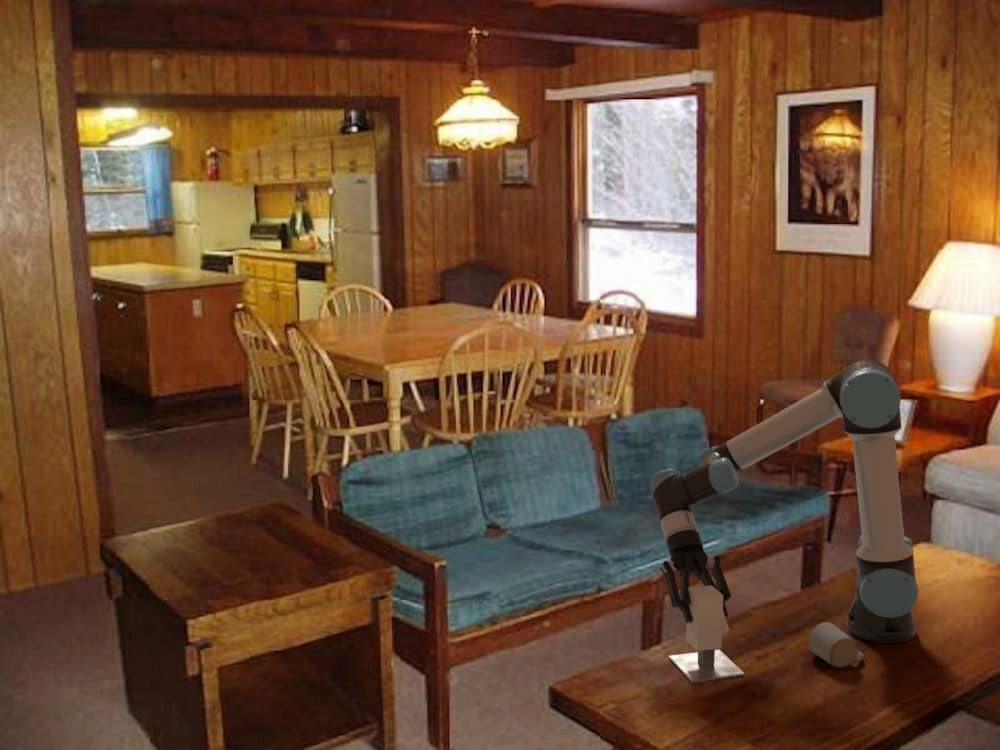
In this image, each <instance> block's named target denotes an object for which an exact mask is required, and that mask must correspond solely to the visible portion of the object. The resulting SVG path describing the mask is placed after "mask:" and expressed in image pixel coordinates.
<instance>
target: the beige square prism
mask: <svg viewBox="0 0 1000 750" xmlns="http://www.w3.org/2000/svg"><path fill="white" fill-rule="evenodd" d="M688 590H689V606H690V605H693V606H694V609H695V613H696V616H697V619H698V622H699V626H700V629H701V633H702V634H701V635H700V637H699V638H698V639H694V636H693V632H692V629H691V625H690V623H686V629H685V630H686V635H685V636H686V637H685V640H686V641H687V643H688V644H689V645H690V646H691V647H692V648H694V650H695V651H696V652H698V651H702V650H710V649H715V650H720V649H722V644H723V643H722V642H723V641H722V640H723V639H722V638H723V637H722V617H723V594H721V593H720V592H719V591H718V590H717V589H715V588H714V587H713V586H712V585H711V586H704V585H703V586H695V587H694V586H693V587H689V588H688Z"/></svg>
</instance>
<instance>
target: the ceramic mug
mask: <svg viewBox="0 0 1000 750" xmlns="http://www.w3.org/2000/svg"><path fill="white" fill-rule="evenodd" d="M808 646H809V648H810V651H812V653H813V654H815V655H816V656H817V657H819V658H820V659H822V660H823V661H825V662H826V663H827V664H829V665H831V666H833V667H835V668H838V669H842V668H843V669H844V668H847V667H848V666H850V665H851V664H852V663H853V662H854V661H857V662H861V661H862V660H863V657H864V654H863V653H862V652H861V650H859V649H858V647H857V644H856V642H855V641H854V639H852V638H851V637H850V636H849V635H848V634H846V633H845V632H844V631H843V630H842V629H840V628H839V627H837V625H835V624H834V623H831V622H829V621H827V622H821V623H820V624H819V623H818V625H817V626H815V627H814V628H813V629H812V631H811V632H810V634H809V637H808Z"/></svg>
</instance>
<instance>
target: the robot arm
mask: <svg viewBox="0 0 1000 750" xmlns="http://www.w3.org/2000/svg"><path fill="white" fill-rule="evenodd" d="M896 381H897V380H896V378H895V375H894V374H893V372H892V370H891V368H889V367H888V366H887V365H885V364H884V363H882V362H880V361H877V360H875V359H874V360H873V359H864V360H859V361H856V362H854V363H852V364H850V365H848V366H847V367H845V368H844V369H842V370H841V371H839V372H838V373H836V374H835V375H833V376H832V377H830V378H829V379H827V380H825V381H823V382H822V386H821V388H820V389H818V390H816V391H815V392H813V393H811V394H809V395H807V396H806V397H803V398H802V399H800V400H798V401H797V402H795V403H793V404H791V405H790V406H788V407H786V408H784V409H783V410H780V411H779V412H777V413H775V414H774V415H772V416H770V417H768V418H766V419H764V420H763V421H762V422H760V423H757V424H756V425H754V426H752V427H751V428H749V429H746V430H745V431H743V432H741V433H739V434H738V435H736V436H734V437H733V438H730V439H729V440H727V441H726V442H724V443H722V444H720V445H716V446H712V447H710V448H708V449H707V450H706V451H705V452H704V453H703V454H702V455H701V457H700V460H699V461H700V462H699V464H698V466H697V467H696V468H694V469H692V470H690V471H687V472H685V473H681V472H680V471H679V470H677V469H675V468H668V469H666V470H664V469H663V470H660V471H658V472H655V473H654V474H653V475H652V477H651V478H650V481H649V485H650V490H651V495H652V496H651V497H652V499H653V502H654V505H655V508H656V511H657V512H656V513H657V514H658V518H659V521H660V525H661V529H662V532H663V535H664V538H665V539H666V541H665V543H666V546H667V549H668V553H669V556H670V560H668V561H667V560H664V561H663V563H661V566H660V570H661V571H662V572H661V573H662V574H663V576H664V579H665V582H666V587H667V592H668V595H669V599H670V604H671V607H673V609H675V608H678V609H679V611H681V612H682V615H683V618H684V621H685V623H686V624H687V623H690V625H691V629H692V632H693V636H694V639H698V638H699V637H700V635H701V634H702V633H701V629H700V626H699V622H698V619H697V616H696V613H695V609H694V606H693V605H690V606H689V590H688V588H690V576H695V577H697V579H698V580H700V582H701V583H702V584H703V586H711V585H712V586H713V587H714V588H715V589H717V590H718V591H719V592H720V593H721V594H723V617H722V636H726V635H727V634H728V632H730V628H729V626H728V622H727V617H728V616H729V613H728V610H727V606H726V604H725V603H727V602H728V601H729V600H730V598H731V597H732V595H731V592H730V589H729V586H728V583H727V581H726V577H725V575H724V572H723V569H722V567H721V557H720V556H719V555H715V556H710V555H709V556H708V554H707V553H706V552H705V550H704V545H703V542H702V539H701V535H700V533H699V532H698V530H699V529H698V526H697V523H696V520H695V516H694V513H693V510H692V507H693V506H697V505H698V504H702V503H704V502H706V501H709V500H711V499H713V498H716V497H717V498H718V497H719V496H721V495H726V494H728V493H729V492H731V491H732V490H736V488H738V487H739V484H740V480H739V475H738V473H740V472H741V471H743V470H745V469H746V468H748V467H751V466H752V465H754V464H756V463H758V462H759V461H761V460H763V459H765V458H767V457H769V456H770V455H772V454H774V453H776V452H777V451H780V450H781V449H784V448H786V447H787V446H789V445H791V444H793V443H794V442H797V441H798V440H800V439H801V438H804V437H805V436H808V435H809V434H812V433H814V431H817V430H818V429H821V428H822V427H824V426H826V425H828V424H829V423H831V422H833V421H835V420H836V419H838V418H842V423H843V424H842V425H843V432H844V433H845V434H846V435H847V436H848V437H850V439H852V440H851V442H852V450H853V458H854V459H853V460H854V470H855V479H856V489H857V498H858V499H857V500H858V508H859V509H858V510H859V511H858V512H859V521H860V531H861V535H860V536H859V538H858V539H859V540H858V544H857V547H858V549H856V553H855V554H856V563H857V572H856V583H855V584H856V586H855V588H856V589H855V597H854V599H853V601H852V603H851V605H850V608H849V611H848V613H847V614H846V629H847V630H848V632H849V633H850V634H852V635H854V636H856V637H858V638H859V639H860V638H861V639H862V640H866V641H870V642H874V643H881V644H901V643H906V642H907V643H908V642H910V641H912V640H913V639H915V638H916V637H915V636H916V630H917V629H916V628H917V627H916V621H915V618H914V614H913V610H912V609H913V608H914V607H915V606H916V603H917V601H918V597H919V586H918V584H917V579H916V568H915V560H914V559H915V557H914V548H913V547H914V546H913V541H912V539H911V538H910V537H907V536H905V533H904V522H903V512H902V511H903V509H902V499H901V498H902V497H901V490H900V489H901V488H900V480H899V477H900V476H899V467H898V458H897V457H898V456H897V447H896V435H897V433H899V431H900V430H902V418H901V417H902V416H901V409H900V407H901V400H902V399H901V391H900V388H899V385H898V383H897V382H896ZM707 564H708V567H709V568H711V573H712V576H713V578H712V576H711V575H710V573H709V569H708V568H707V567H706V566H707ZM674 568H675V569H676V570H677V571H678V572H679V582H680V583H679V586H680V589H678V585H677V581H676V577H675V572H674ZM713 579H714V580H713Z"/></svg>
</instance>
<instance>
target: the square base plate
mask: <svg viewBox="0 0 1000 750" xmlns="http://www.w3.org/2000/svg"><path fill="white" fill-rule="evenodd" d="M668 659H669V660H670V662H672V664H673V665H675V666H676V667H677V669H678V670H679V671H680V672H681V673H682V674H683V675H684V676H685V677H686V678H687V680H688V681H690V683H692V684H695V683H702V682H703V681H704V682H709V681H708V680H711V681H717V680H716V679H718V680H724V678H726V679H731V678H730V677H733V678H737V677H736V676H740V677H744V676H745V672H744V671H743V670H741V669H740V667H738V666H737V665H736V664H735V663H734V662H733V661H732V660H731V659H730V658H729V657H728V656H727V655H725V653H724V652H722V650H720V649H710V650H702V651H696V652H695V651H694V652H689V653H688V652H687V653H681V654H674V655H668Z"/></svg>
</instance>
